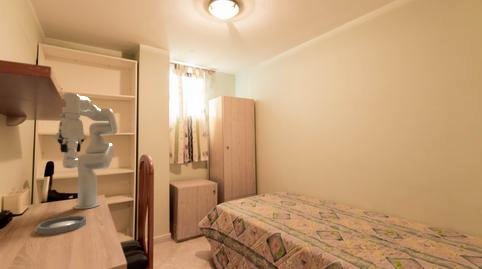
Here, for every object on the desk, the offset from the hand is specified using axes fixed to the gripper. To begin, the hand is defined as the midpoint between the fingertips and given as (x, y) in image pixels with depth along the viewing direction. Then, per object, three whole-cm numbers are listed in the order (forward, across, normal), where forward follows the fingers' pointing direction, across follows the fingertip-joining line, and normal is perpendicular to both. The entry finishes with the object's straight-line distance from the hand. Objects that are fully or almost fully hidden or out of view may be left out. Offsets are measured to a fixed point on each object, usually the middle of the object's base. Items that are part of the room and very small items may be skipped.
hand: (70, 151), depth 118 cm
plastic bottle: (+9, 0, 0) cm, 9 cm away
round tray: (+33, -10, -13) cm, 37 cm away
